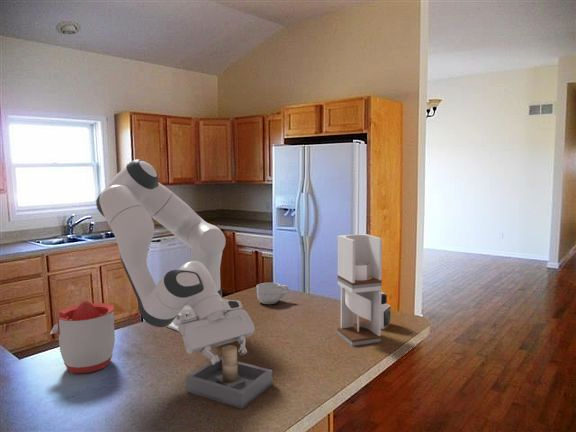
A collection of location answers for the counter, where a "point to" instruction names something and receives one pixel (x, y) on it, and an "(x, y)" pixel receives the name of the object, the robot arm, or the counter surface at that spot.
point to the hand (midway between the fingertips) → (230, 358)
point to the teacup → (270, 292)
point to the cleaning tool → (230, 369)
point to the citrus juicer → (86, 336)
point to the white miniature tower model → (360, 288)
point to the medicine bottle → (384, 311)
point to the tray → (207, 387)
